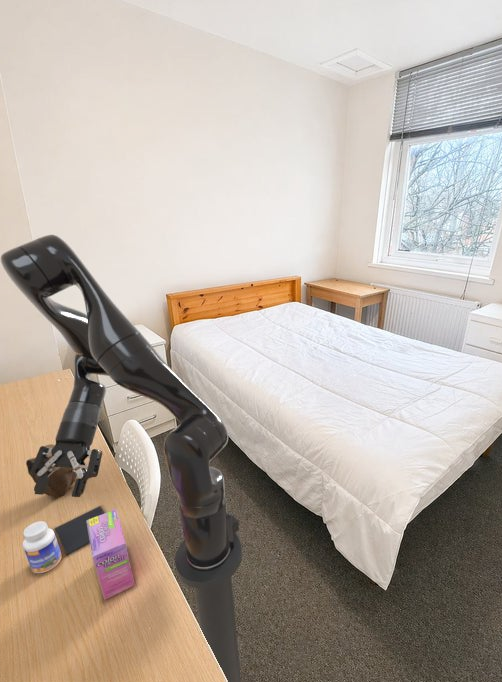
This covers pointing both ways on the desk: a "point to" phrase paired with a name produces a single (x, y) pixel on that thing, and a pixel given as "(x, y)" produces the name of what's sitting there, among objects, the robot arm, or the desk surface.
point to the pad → (76, 531)
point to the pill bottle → (41, 547)
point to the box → (110, 554)
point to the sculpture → (55, 478)
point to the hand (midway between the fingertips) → (57, 495)
